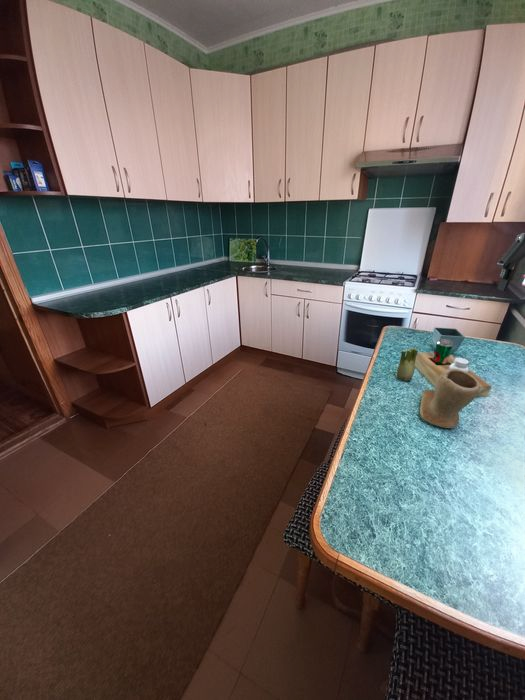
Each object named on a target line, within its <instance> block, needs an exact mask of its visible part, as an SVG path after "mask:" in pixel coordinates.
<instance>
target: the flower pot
mask: <svg viewBox="0 0 525 700" xmlns="http://www.w3.org/2000/svg"><path fill="white" fill-rule="evenodd" d="M439 339H447V340H450V341H452V342H453V343H452V344H453V347H452V350H451V354H450V355H453V354H454V353H455V352H457V351H458V350H459V349H460V347H461V345H462V344H463V341H464V339H465V335H464V334H463V333H461V332H460V331H459V330H458V329H457V328H450V327H433V332H432V344H433V347H434V349H435V347H436V344H437V342H438V341H439Z"/></svg>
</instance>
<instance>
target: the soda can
mask: <svg viewBox="0 0 525 700" xmlns="http://www.w3.org/2000/svg"><path fill="white" fill-rule="evenodd" d="M452 343H453V342H452V341H450V340H447V339H439V341H438V342H437V344H436V347H435V348H434V351H433V353H434V354H433V358H432V362H433V363H434V364H436V365H447V363H448V360H449V357H450V355H452V354H451V350H452V347H453V344H452Z"/></svg>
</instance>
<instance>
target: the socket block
mask: <svg viewBox="0 0 525 700" xmlns="http://www.w3.org/2000/svg"><path fill="white" fill-rule="evenodd" d="M433 354H434V352H418V353H417V356H416V359H415V369H416V370H417V371H418V372H420V374H421V375H422V376H423V377H424V378H425V379H426V380H427V381H428V382H429V383H430V384H431V385H432V386H433V387H434V388H435V386H436V383H437V381H438V379H439V377H440V375H441V374H442V372H443V371H445V370H447V369H449V367H450V365H451V364H453V363H454V360H455V358H456V357H454V356H453V354H450V357H449V360H448V363H447V365H436V364H434V363H433V362H432V358H433ZM468 373H469V374H471V375H472V376H473V377H475V378H476V379H477V381H478V382H479V384H480V390H479V392H478V394H477V395H476V397H475V398H479V397H480V398H481V397H483V398H484V397H488V396H489V393H490V392H491V390H492V389H491V388H492V385H490V383H488V382H487V381H486V380H484V379H483V378H482V377H480V376H479V375H478V374H476V373H475V372H474V371H473V370H471V369H470V368H469V372H468Z"/></svg>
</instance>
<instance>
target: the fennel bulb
mask: <svg viewBox="0 0 525 700" xmlns="http://www.w3.org/2000/svg"><path fill="white" fill-rule="evenodd" d="M417 353H419V349H417V348H412V347H410V348H409V349H407V351H406V350H405V349H402V350H401V353H400V359H399V362H398V366H397V369H396V378H397V379H398V380H400V381H403V382H410V381H412V380H413V377H414V374H415V369H416V367H415V359H416V356H417Z"/></svg>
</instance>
